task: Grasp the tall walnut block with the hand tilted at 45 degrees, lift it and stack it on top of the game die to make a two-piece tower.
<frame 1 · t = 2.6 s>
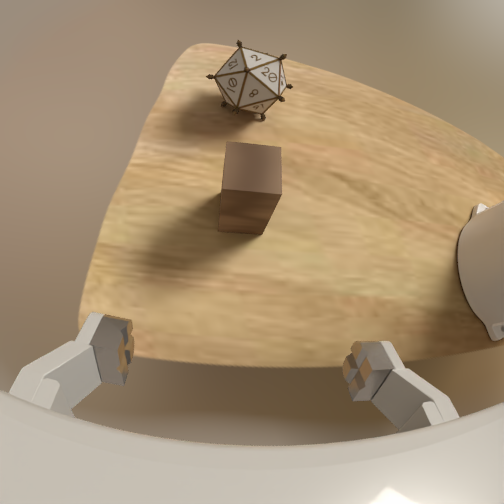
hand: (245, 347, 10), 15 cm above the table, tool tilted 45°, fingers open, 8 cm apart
game die: (246, 106, 32), on the table
walnut block: (241, 212, 28), on the table
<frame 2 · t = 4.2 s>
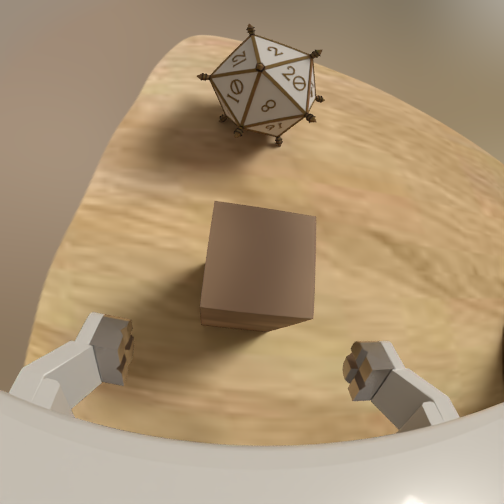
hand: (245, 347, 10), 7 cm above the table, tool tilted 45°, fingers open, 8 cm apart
game die: (256, 123, 23), on the table
walnut block: (237, 296, 18), on the table
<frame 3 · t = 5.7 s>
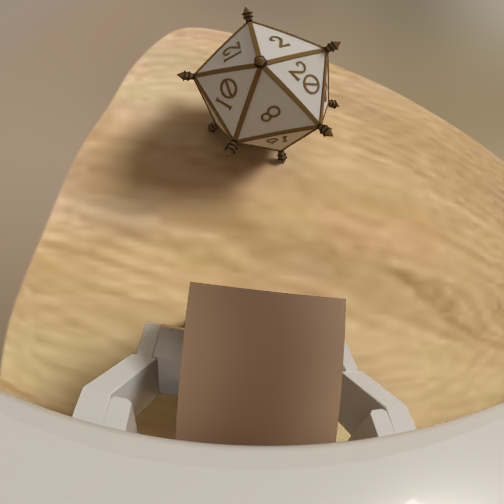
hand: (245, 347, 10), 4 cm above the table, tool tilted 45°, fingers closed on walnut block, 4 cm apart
game die: (253, 132, 19), on the table
walnut block: (231, 360, 14), on the table, touching gripper
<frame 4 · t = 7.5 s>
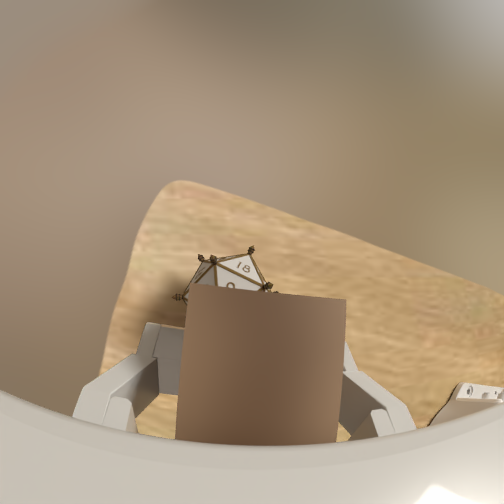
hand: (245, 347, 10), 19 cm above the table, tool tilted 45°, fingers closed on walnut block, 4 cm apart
game die: (225, 303, 30), on the table
walnut block: (231, 360, 14), point 15 cm above the table, touching gripper
when the fingers open (14 cm above the table, at t = 9.6 s): walnut block drops 1 cm, resting on game die.
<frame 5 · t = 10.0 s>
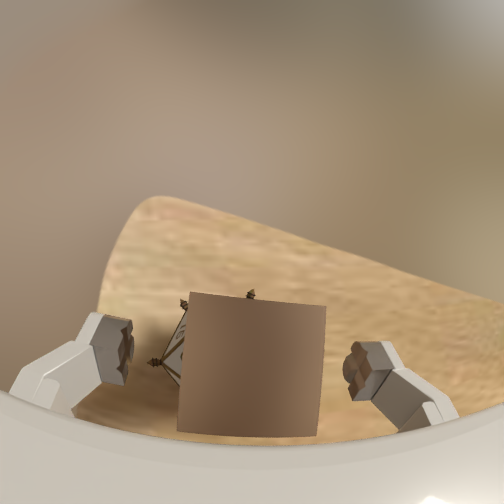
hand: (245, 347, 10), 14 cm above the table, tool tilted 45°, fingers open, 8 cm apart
game die: (218, 355, 23), on the table, touching walnut block
walnut block: (228, 358, 15), point 8 cm above the table, touching game die
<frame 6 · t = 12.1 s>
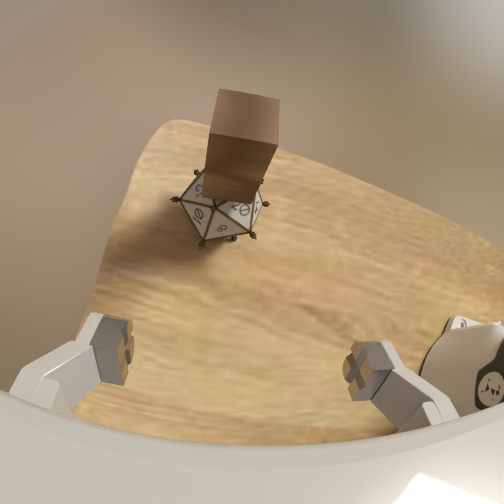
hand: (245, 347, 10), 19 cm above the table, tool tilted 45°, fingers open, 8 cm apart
game die: (218, 219, 32), on the table, touching walnut block
walnut block: (229, 179, 25), point 8 cm above the table, touching game die
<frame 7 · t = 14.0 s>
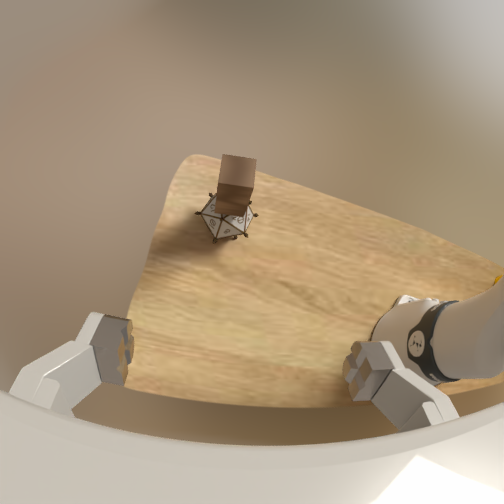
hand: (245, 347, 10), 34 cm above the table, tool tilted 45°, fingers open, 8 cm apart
element tile: (503, 313, 55), on the table
game die: (225, 225, 49), on the table, touching walnut block
walnut block: (230, 202, 41), point 8 cm above the table, touching game die
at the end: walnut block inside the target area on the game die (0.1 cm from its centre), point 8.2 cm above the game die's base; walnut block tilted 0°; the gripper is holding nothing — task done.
